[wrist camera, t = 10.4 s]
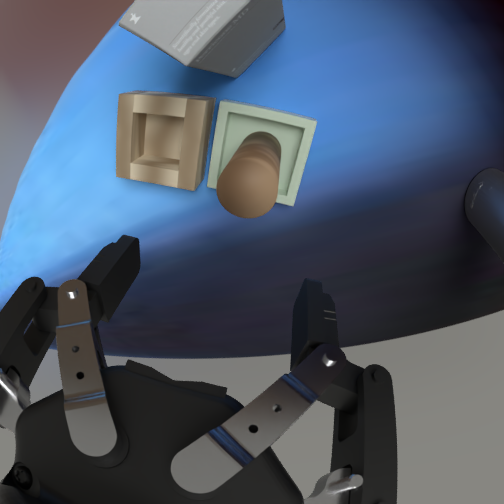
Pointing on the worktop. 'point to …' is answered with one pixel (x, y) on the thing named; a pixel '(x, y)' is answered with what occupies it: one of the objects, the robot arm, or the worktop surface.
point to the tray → (267, 120)
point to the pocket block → (163, 137)
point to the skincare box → (208, 30)
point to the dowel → (251, 176)
